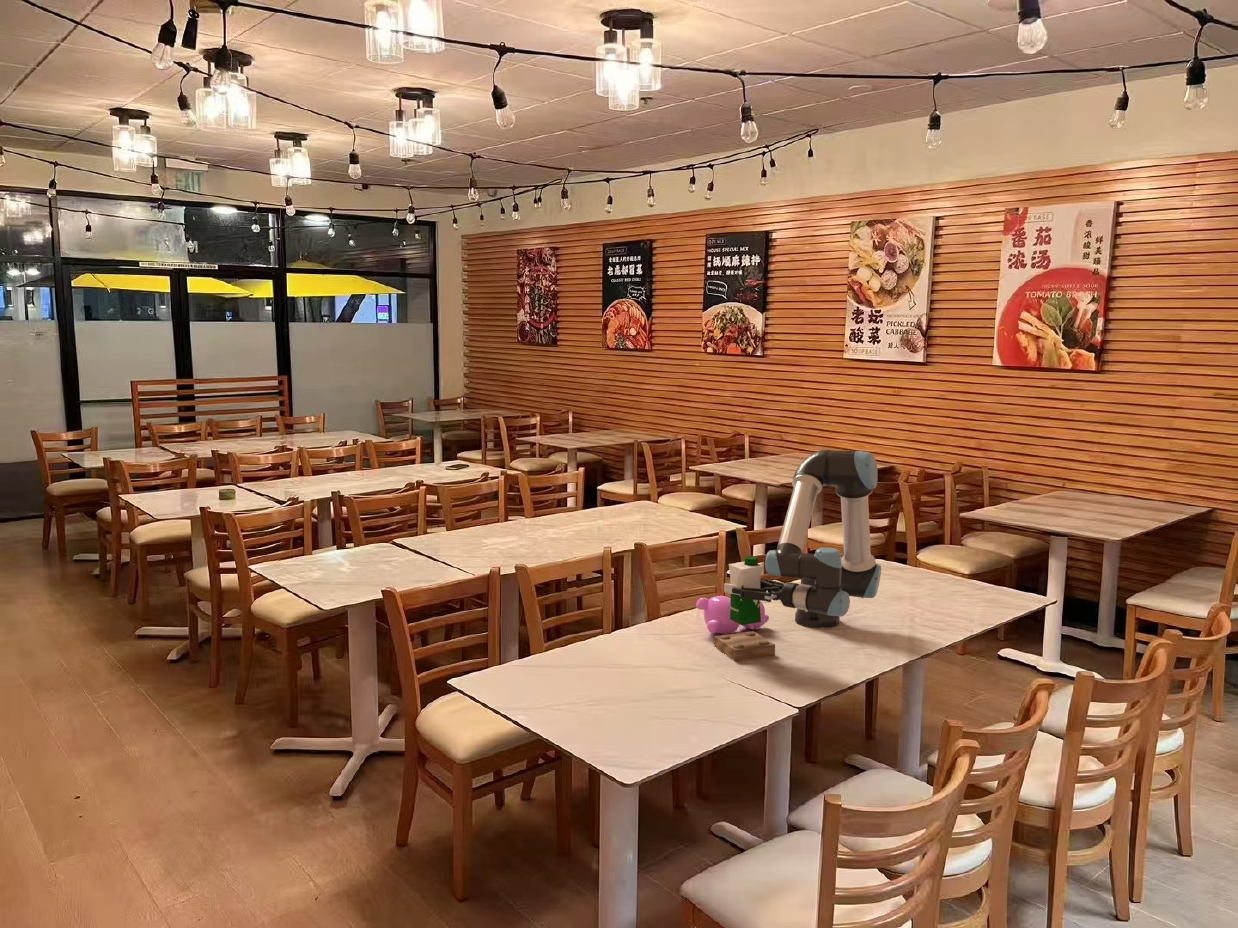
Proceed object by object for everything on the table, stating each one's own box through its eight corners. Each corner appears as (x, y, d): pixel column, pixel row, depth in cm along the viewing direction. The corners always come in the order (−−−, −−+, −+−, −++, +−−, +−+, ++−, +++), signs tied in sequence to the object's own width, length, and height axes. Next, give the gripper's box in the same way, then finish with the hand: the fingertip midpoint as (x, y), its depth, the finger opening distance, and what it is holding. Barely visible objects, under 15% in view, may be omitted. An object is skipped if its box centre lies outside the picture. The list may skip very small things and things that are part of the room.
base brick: (714, 648, 289) (714, 635, 288) (753, 643, 294) (753, 630, 293) (734, 662, 276) (734, 649, 275) (774, 657, 281) (775, 643, 280)
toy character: (745, 613, 319) (685, 611, 308) (761, 585, 312) (700, 583, 301) (764, 645, 307) (702, 645, 296) (781, 618, 301) (718, 616, 290)
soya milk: (765, 622, 281) (765, 559, 278) (740, 626, 277) (740, 563, 275) (749, 614, 289) (749, 554, 286) (725, 619, 285) (725, 557, 283)
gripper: (780, 617, 263) (714, 603, 277) (813, 600, 280) (749, 588, 294) (780, 592, 262) (714, 580, 276) (813, 576, 279) (749, 565, 293)
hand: (732, 584), depth 285 cm, fingers closed on soya milk, 9 cm apart
